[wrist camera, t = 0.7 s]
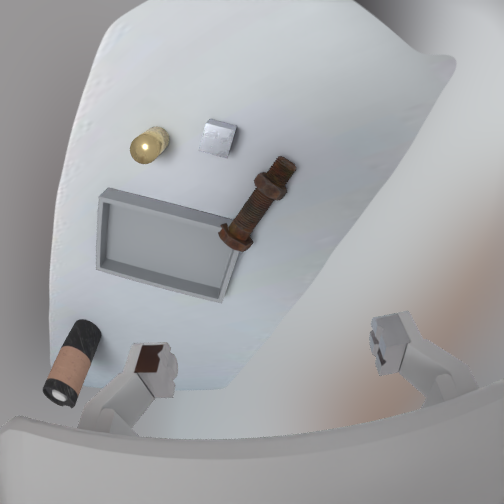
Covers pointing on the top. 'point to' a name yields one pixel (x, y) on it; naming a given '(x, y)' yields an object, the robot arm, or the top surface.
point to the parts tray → (163, 245)
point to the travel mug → (72, 364)
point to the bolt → (257, 204)
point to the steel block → (217, 138)
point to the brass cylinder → (149, 145)
